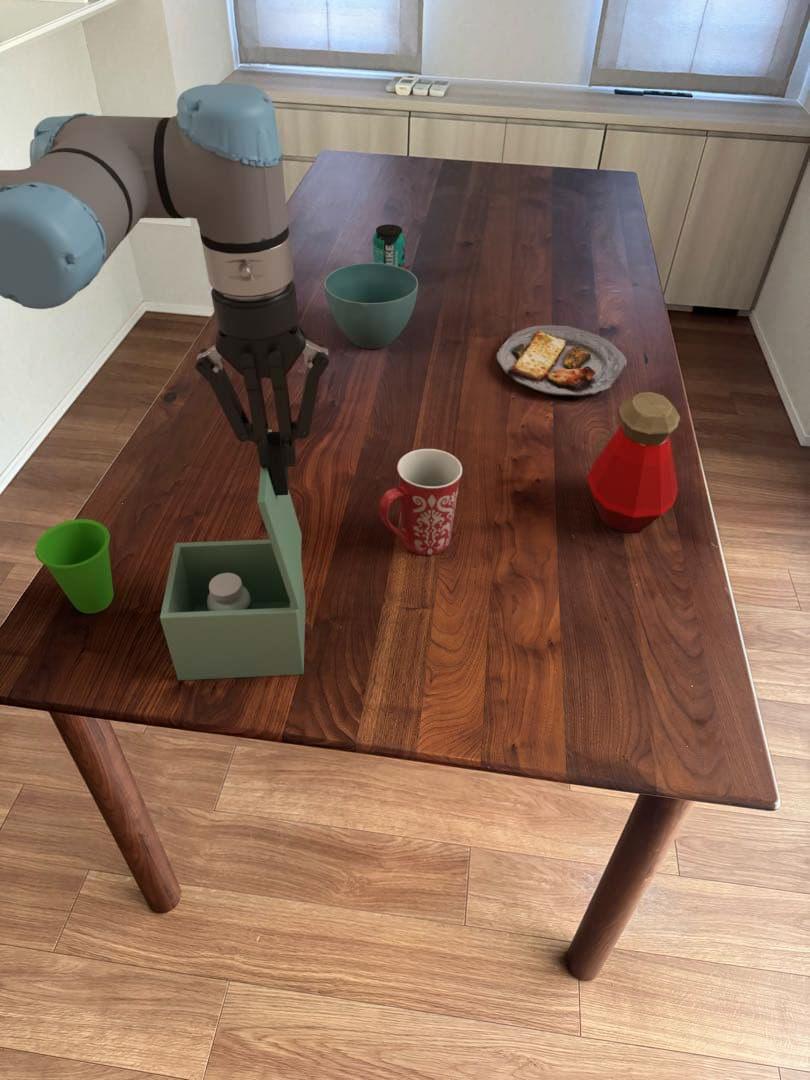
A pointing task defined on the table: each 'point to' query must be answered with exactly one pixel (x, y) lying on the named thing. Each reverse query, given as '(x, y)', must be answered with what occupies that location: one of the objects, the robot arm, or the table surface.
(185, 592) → the chest
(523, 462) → the table surface
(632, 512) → the bottle
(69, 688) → the table surface
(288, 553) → the lid
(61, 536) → the cup
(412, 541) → the mug
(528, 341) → the food plate
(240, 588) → the pill bottle
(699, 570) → the table surface
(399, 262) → the beverage can
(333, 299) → the plant pot
